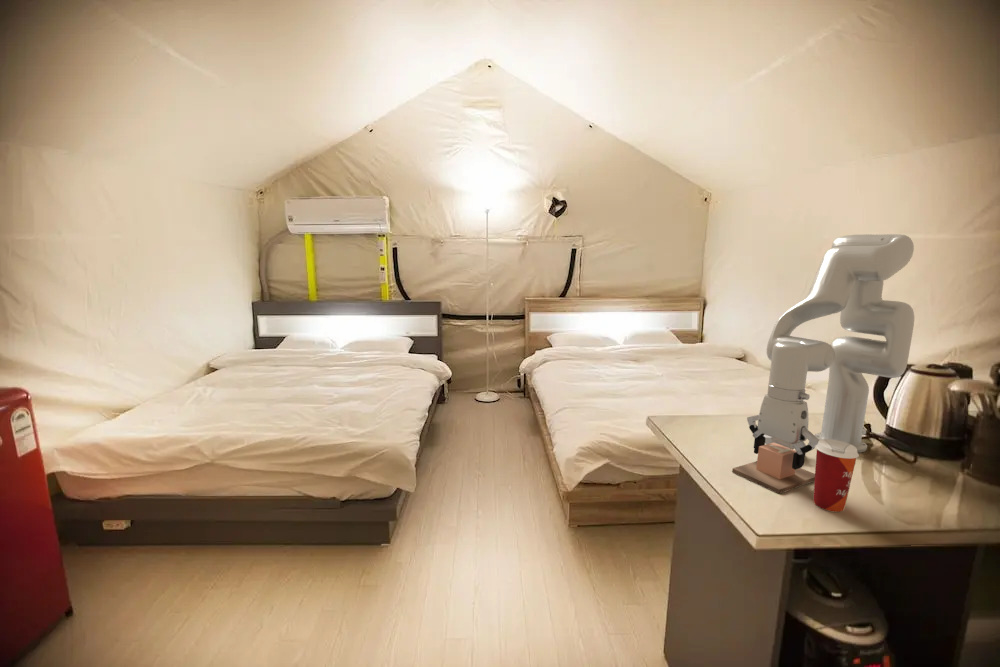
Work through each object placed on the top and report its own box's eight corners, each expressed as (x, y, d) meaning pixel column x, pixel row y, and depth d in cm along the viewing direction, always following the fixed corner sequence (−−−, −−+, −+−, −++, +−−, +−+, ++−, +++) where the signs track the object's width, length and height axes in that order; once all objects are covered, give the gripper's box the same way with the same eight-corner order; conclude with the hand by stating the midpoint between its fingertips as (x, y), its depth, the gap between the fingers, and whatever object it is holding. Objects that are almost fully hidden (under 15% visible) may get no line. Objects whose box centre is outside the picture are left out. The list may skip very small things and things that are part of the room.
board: (771, 460, 127) (771, 456, 127) (818, 479, 117) (819, 475, 117) (732, 472, 120) (732, 468, 120) (778, 493, 109) (779, 489, 109)
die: (786, 447, 138) (766, 418, 139) (812, 443, 130) (791, 412, 132) (770, 462, 134) (749, 432, 136) (795, 459, 127) (773, 427, 128)
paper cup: (851, 518, 100) (861, 455, 97) (807, 507, 104) (816, 446, 101) (848, 502, 106) (857, 442, 104) (807, 492, 110) (815, 435, 108)
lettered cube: (771, 464, 122) (774, 441, 121) (794, 474, 117) (797, 450, 116) (756, 469, 119) (759, 445, 118) (779, 479, 114) (782, 455, 113)
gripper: (832, 401, 109) (823, 471, 112) (761, 382, 124) (754, 444, 127) (814, 406, 106) (804, 478, 109) (742, 385, 121) (735, 449, 124)
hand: (777, 460), depth 118 cm, fingers open, 9 cm apart
